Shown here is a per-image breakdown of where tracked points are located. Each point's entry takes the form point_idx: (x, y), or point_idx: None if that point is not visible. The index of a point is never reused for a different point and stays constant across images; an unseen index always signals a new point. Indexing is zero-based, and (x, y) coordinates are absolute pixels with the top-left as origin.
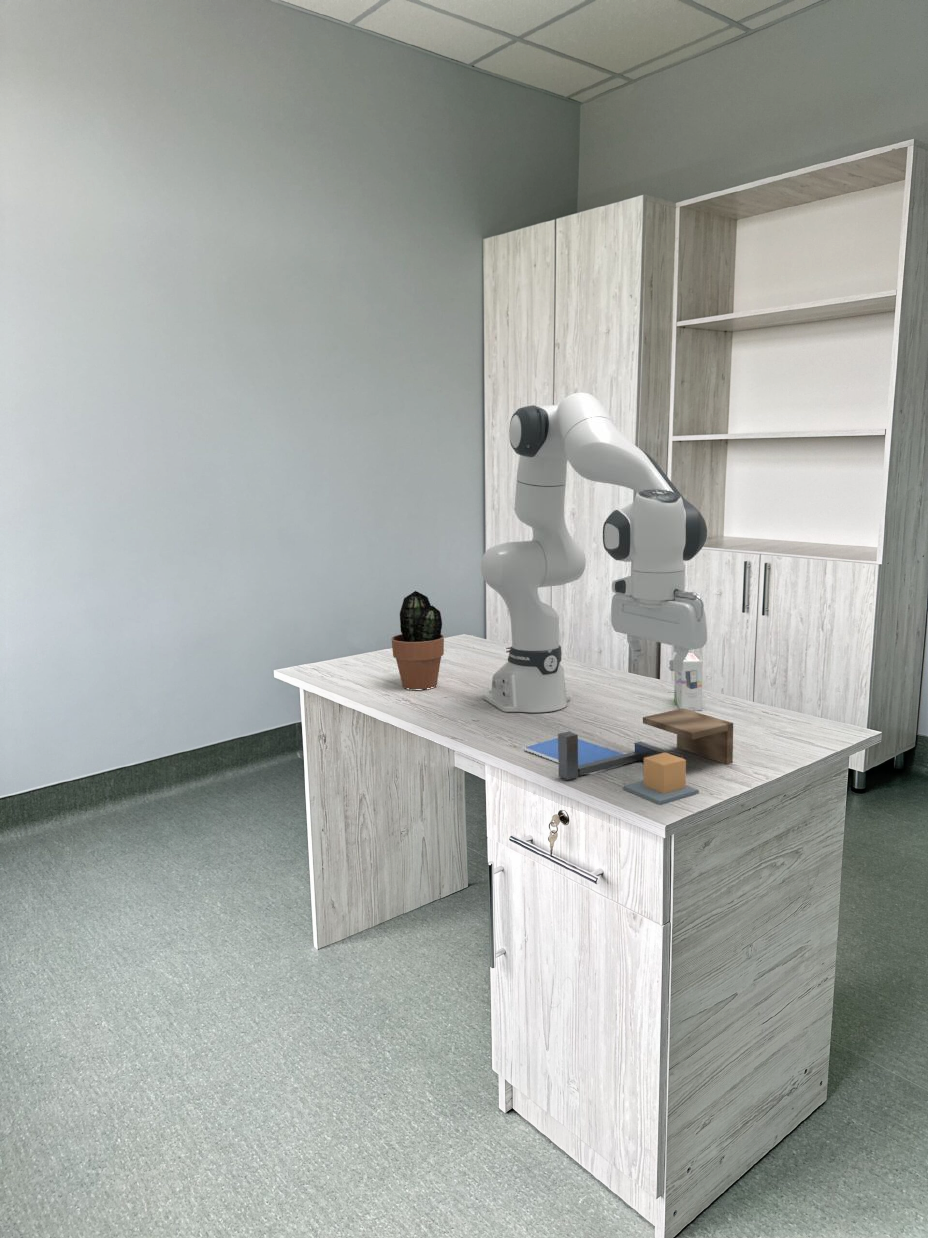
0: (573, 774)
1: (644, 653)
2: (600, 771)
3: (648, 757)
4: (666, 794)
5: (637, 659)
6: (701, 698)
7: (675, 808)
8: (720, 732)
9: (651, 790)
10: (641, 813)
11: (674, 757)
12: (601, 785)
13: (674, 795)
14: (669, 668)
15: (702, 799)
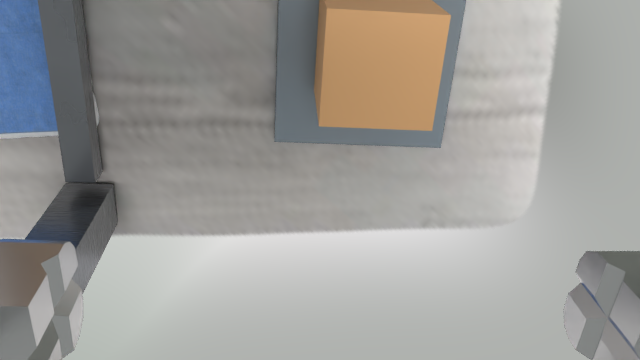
0: (111, 207)
1: (40, 282)
2: (91, 81)
3: (327, 109)
4: None
5: (78, 335)
6: None
7: (487, 127)
8: None
9: None
10: (440, 219)
11: (398, 28)
12: (205, 163)
13: (442, 79)
14: (571, 337)
15: (506, 6)
